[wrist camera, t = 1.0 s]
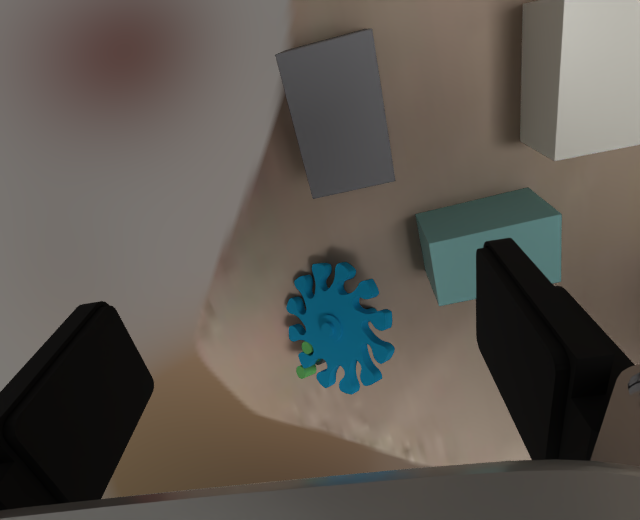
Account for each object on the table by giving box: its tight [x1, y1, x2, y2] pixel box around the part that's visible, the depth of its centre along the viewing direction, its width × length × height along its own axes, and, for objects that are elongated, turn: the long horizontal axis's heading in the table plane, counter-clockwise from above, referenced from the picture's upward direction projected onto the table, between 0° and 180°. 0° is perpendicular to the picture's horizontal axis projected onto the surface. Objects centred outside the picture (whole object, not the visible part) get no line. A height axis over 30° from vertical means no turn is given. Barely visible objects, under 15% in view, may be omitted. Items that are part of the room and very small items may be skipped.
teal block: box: [415, 188, 562, 306], centre depth 29 cm, size 8×5×5 cm, turn 105°
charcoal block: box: [275, 29, 395, 199], centre depth 25 cm, size 8×5×5 cm, turn 13°
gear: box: [286, 262, 395, 394], centre depth 32 cm, size 11×6×10 cm
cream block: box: [520, 0, 640, 161], centre depth 23 cm, size 8×5×5 cm, turn 12°
